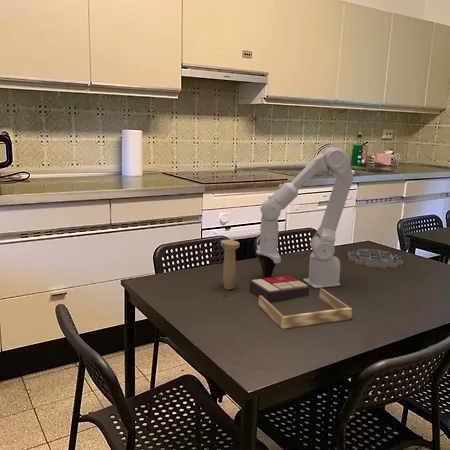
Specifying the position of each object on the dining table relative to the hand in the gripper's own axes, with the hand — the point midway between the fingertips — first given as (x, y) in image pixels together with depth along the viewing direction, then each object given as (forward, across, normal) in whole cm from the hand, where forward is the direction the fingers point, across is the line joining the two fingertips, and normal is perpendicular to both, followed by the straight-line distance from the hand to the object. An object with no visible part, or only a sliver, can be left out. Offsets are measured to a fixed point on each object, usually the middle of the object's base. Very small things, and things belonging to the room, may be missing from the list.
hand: (267, 277), depth 150 cm
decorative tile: (+2, -11, +50) cm, 51 cm away
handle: (+2, +2, -14) cm, 14 cm away
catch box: (+1, +24, 0) cm, 24 cm away
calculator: (+2, +10, 0) cm, 10 cm away
